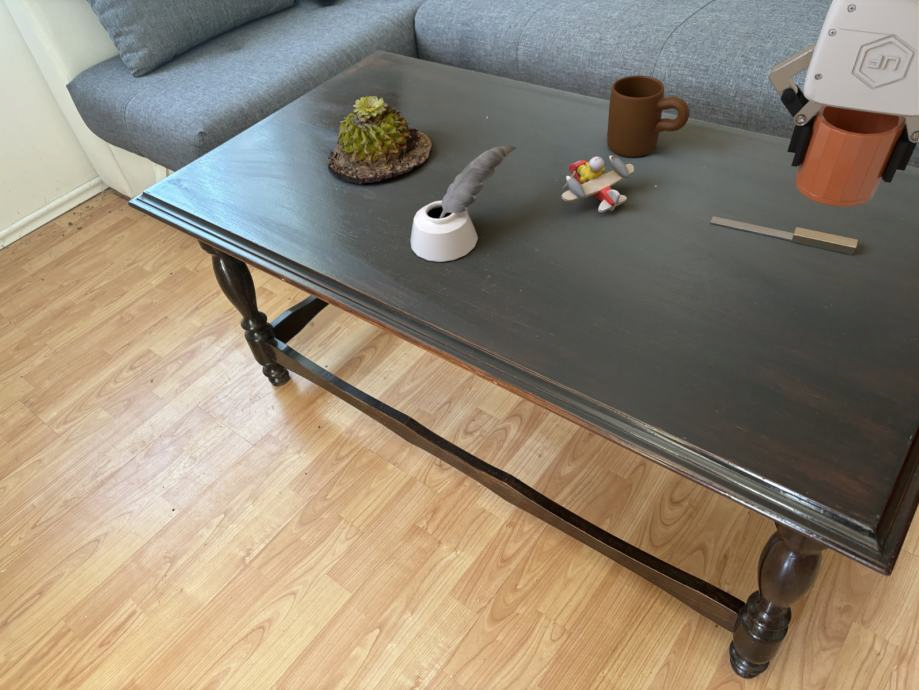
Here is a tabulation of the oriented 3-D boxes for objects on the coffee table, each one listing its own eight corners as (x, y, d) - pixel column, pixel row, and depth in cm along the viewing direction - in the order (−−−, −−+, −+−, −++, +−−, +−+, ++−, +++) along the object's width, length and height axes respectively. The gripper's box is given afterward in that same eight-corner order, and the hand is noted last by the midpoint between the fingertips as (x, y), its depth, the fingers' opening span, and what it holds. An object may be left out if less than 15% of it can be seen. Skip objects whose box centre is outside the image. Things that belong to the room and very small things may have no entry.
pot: (878, 173, 62) (908, 103, 57) (870, 213, 58) (902, 142, 53) (800, 160, 65) (823, 92, 60) (789, 198, 61) (811, 128, 56)
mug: (693, 149, 98) (704, 88, 92) (668, 172, 95) (678, 111, 88) (622, 128, 104) (628, 70, 98) (596, 150, 101) (600, 91, 94)
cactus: (362, 199, 97) (348, 140, 90) (310, 160, 107) (293, 104, 100) (453, 153, 104) (446, 95, 97) (396, 121, 113) (386, 65, 106)
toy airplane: (569, 180, 96) (570, 140, 91) (632, 184, 94) (637, 143, 89) (558, 216, 90) (559, 176, 85) (626, 222, 88) (630, 181, 83)
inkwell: (396, 242, 89) (384, 179, 82) (493, 186, 97) (489, 123, 89) (440, 272, 84) (430, 207, 77) (538, 210, 91) (537, 146, 84)
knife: (854, 247, 80) (858, 239, 79) (853, 255, 79) (856, 247, 78) (712, 217, 87) (714, 209, 86) (709, 224, 86) (711, 216, 85)
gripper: (785, -41, 48) (733, 170, 61) (1076, -24, 42) (949, 208, 55) (802, -73, 53) (750, 131, 66) (1068, -62, 46) (952, 162, 59)
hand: (841, 165), depth 60 cm, fingers closed on pot, 6 cm apart
